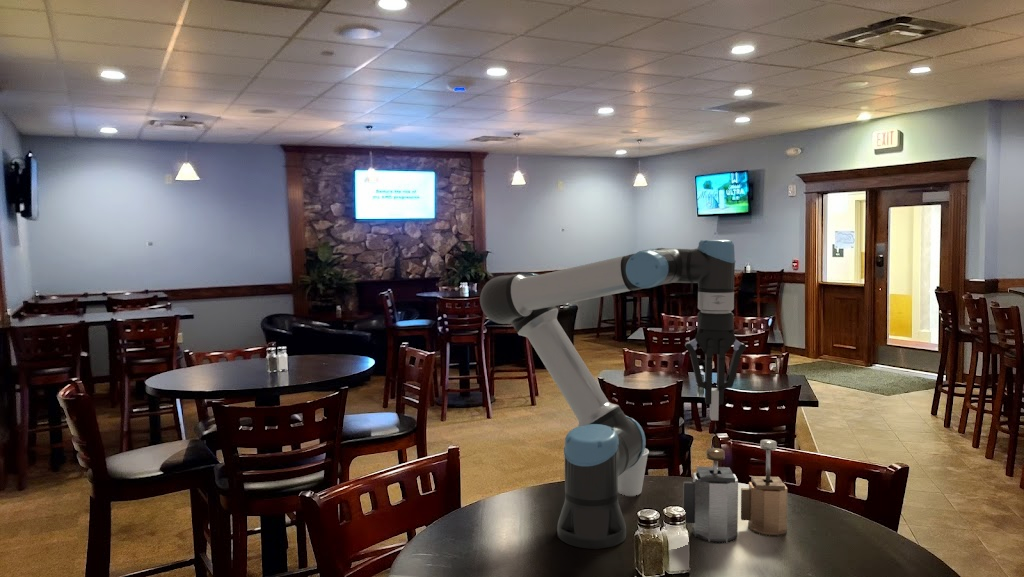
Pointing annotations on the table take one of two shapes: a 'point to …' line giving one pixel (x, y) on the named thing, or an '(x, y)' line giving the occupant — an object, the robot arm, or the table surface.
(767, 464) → the grey press handle
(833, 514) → the table surface
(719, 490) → the steel press
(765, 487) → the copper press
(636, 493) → the cup
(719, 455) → the steel plunger
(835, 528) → the table surface
